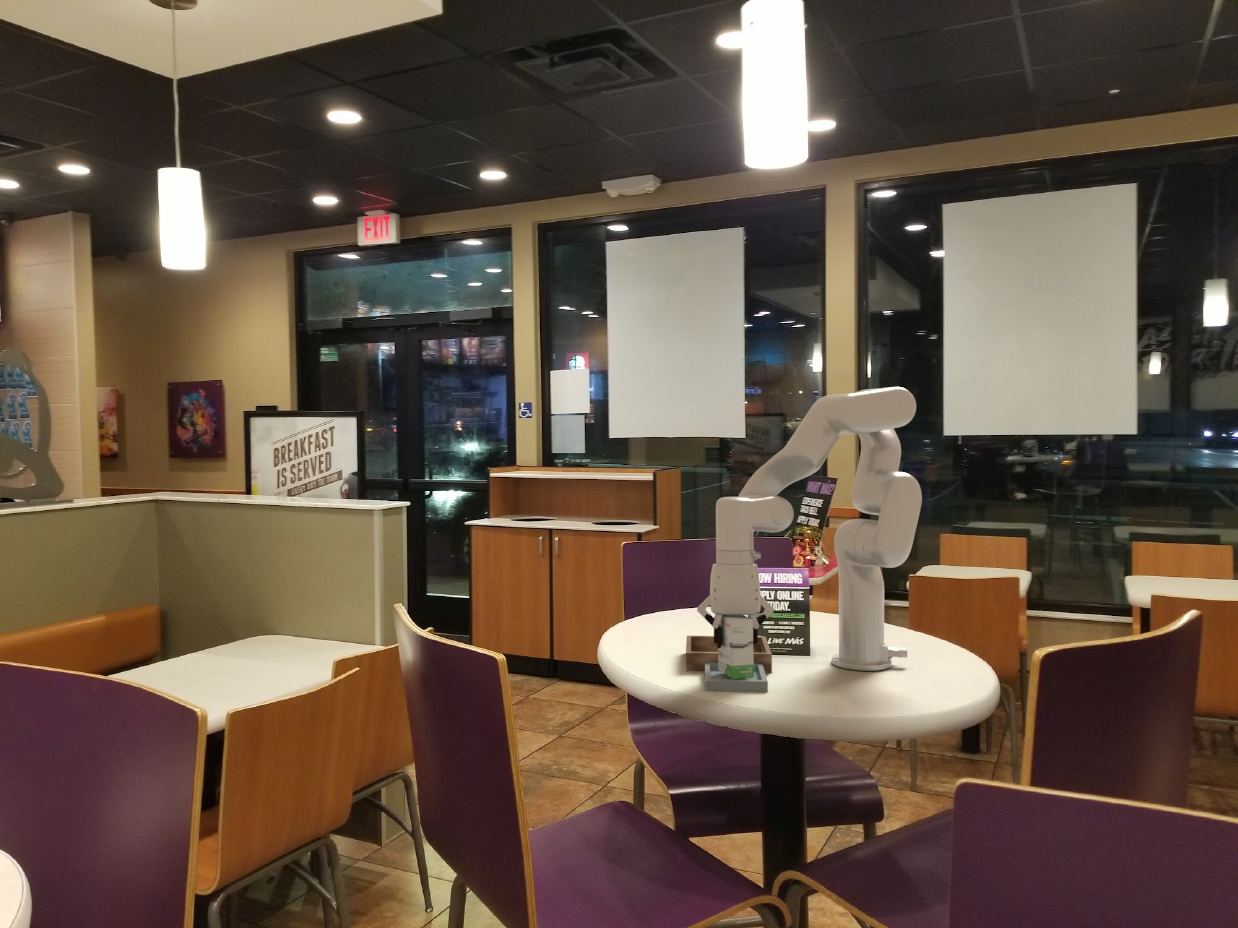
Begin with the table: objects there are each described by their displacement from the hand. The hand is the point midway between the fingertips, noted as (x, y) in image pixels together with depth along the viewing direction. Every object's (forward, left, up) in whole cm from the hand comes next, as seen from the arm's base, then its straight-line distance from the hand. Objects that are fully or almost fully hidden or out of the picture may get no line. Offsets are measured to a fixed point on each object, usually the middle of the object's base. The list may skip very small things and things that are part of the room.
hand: (735, 645), depth 177 cm
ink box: (0, 0, -6) cm, 6 cm away
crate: (+1, -16, -7) cm, 18 cm away
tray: (0, 0, -7) cm, 7 cm away
